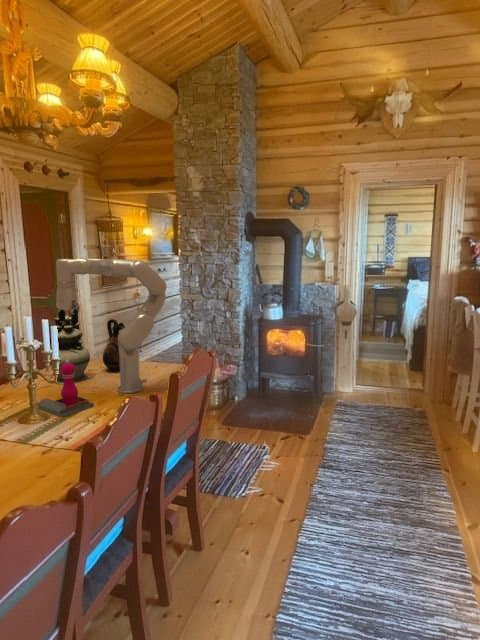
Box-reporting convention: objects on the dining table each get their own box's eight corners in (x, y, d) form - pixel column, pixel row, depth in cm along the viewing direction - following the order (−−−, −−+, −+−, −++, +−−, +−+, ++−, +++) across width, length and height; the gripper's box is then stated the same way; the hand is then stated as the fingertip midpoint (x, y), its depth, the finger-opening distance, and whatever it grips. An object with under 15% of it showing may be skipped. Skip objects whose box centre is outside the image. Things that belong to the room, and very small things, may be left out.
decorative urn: (67, 387, 233) (63, 321, 226) (41, 380, 244) (37, 316, 237) (99, 377, 250) (96, 315, 244) (74, 370, 261) (70, 311, 255)
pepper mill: (73, 406, 199) (70, 361, 196) (58, 405, 200) (55, 361, 197) (81, 400, 206) (79, 358, 203) (67, 400, 207) (64, 357, 204)
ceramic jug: (135, 369, 266) (134, 319, 262) (116, 375, 253) (113, 322, 249) (115, 365, 275) (113, 316, 271) (95, 370, 262) (92, 320, 258)
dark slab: (69, 399, 213) (69, 389, 212) (93, 406, 203) (93, 396, 202) (38, 408, 200) (37, 399, 200) (62, 417, 190) (61, 407, 189)
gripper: (48, 285, 212) (50, 321, 214) (70, 287, 202) (72, 324, 205) (62, 284, 218) (64, 319, 220) (84, 285, 208) (86, 322, 211)
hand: (68, 321), depth 212 cm, fingers open, 9 cm apart
